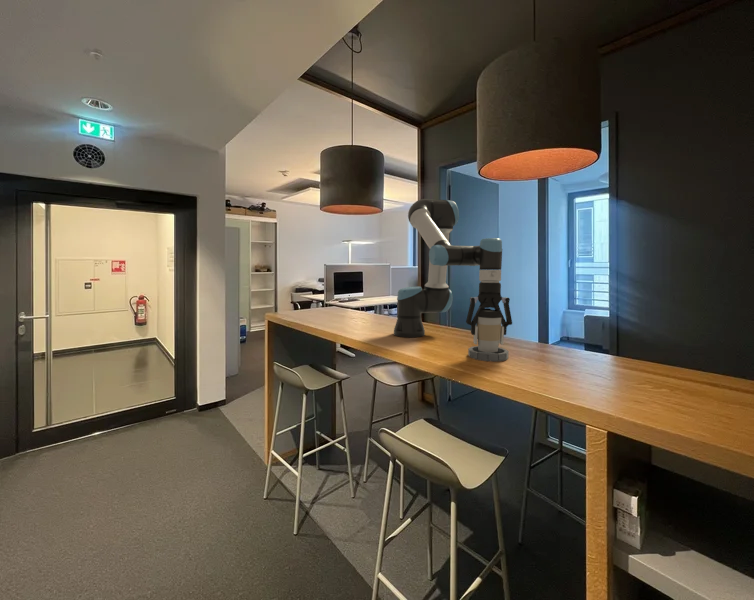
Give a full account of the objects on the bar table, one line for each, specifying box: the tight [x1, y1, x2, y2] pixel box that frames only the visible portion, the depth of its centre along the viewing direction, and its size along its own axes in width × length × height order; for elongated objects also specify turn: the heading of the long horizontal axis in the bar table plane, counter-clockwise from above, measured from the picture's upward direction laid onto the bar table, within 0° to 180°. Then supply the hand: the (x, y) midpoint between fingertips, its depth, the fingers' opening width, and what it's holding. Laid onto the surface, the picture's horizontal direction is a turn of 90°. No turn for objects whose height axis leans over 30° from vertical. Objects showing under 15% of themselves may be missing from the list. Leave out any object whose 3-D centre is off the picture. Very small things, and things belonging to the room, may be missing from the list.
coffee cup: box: [476, 308, 503, 352], centre depth 127 cm, size 9×9×15 cm
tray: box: [467, 345, 509, 362], centre depth 128 cm, size 14×14×2 cm
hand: (488, 343), depth 128 cm, fingers open, 9 cm apart
